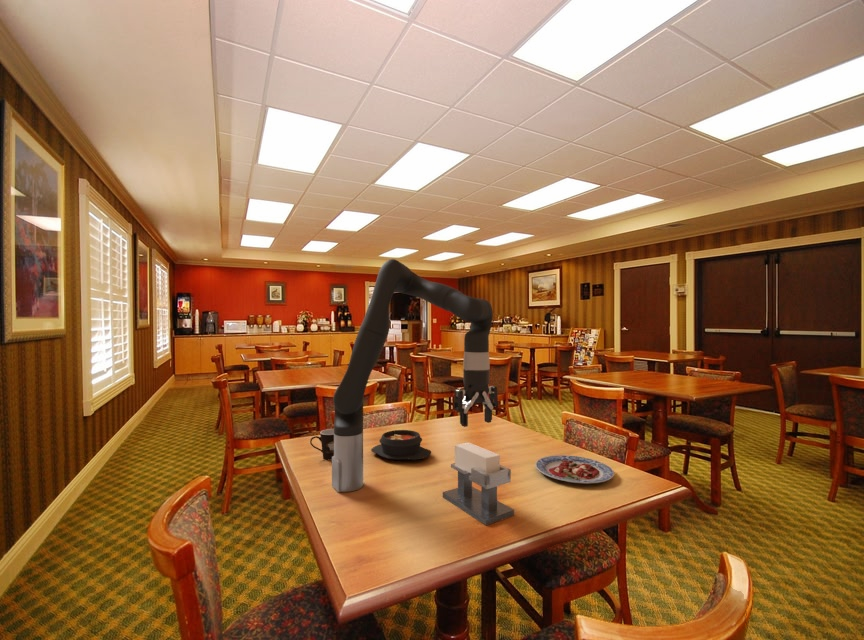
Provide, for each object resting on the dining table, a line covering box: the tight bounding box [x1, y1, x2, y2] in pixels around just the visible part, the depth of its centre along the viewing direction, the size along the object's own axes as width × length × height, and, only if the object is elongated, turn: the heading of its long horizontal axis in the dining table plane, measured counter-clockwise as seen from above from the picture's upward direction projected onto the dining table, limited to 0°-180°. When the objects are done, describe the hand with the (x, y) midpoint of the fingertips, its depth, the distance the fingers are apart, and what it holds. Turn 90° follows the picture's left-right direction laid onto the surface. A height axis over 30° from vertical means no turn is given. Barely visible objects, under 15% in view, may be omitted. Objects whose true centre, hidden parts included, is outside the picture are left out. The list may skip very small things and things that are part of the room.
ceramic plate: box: [535, 454, 615, 484], centre depth 137 cm, size 26×26×3 cm
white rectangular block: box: [454, 441, 501, 474], centre depth 113 cm, size 5×14×6 cm, turn 33°
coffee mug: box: [309, 428, 334, 461], centre depth 154 cm, size 12×9×10 cm
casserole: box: [370, 429, 432, 461], centre depth 156 cm, size 25×19×8 cm
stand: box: [442, 462, 515, 526], centre depth 113 cm, size 10×20×12 cm, turn 32°
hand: (476, 424), depth 113 cm, fingers open, 8 cm apart
